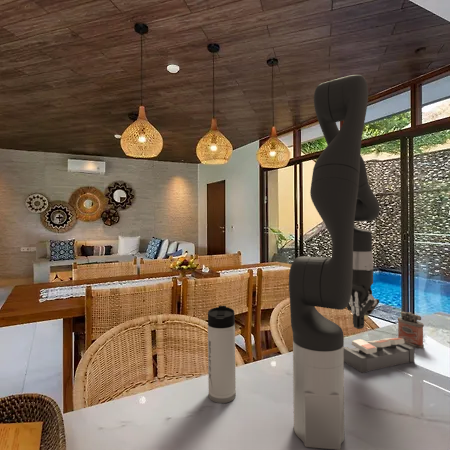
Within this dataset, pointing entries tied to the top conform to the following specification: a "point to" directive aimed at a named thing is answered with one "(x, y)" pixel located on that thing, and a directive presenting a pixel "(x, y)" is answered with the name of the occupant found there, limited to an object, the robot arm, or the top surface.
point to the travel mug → (221, 354)
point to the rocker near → (364, 346)
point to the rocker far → (394, 340)
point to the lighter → (411, 330)
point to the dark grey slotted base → (378, 357)
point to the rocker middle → (380, 343)
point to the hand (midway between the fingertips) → (358, 327)
